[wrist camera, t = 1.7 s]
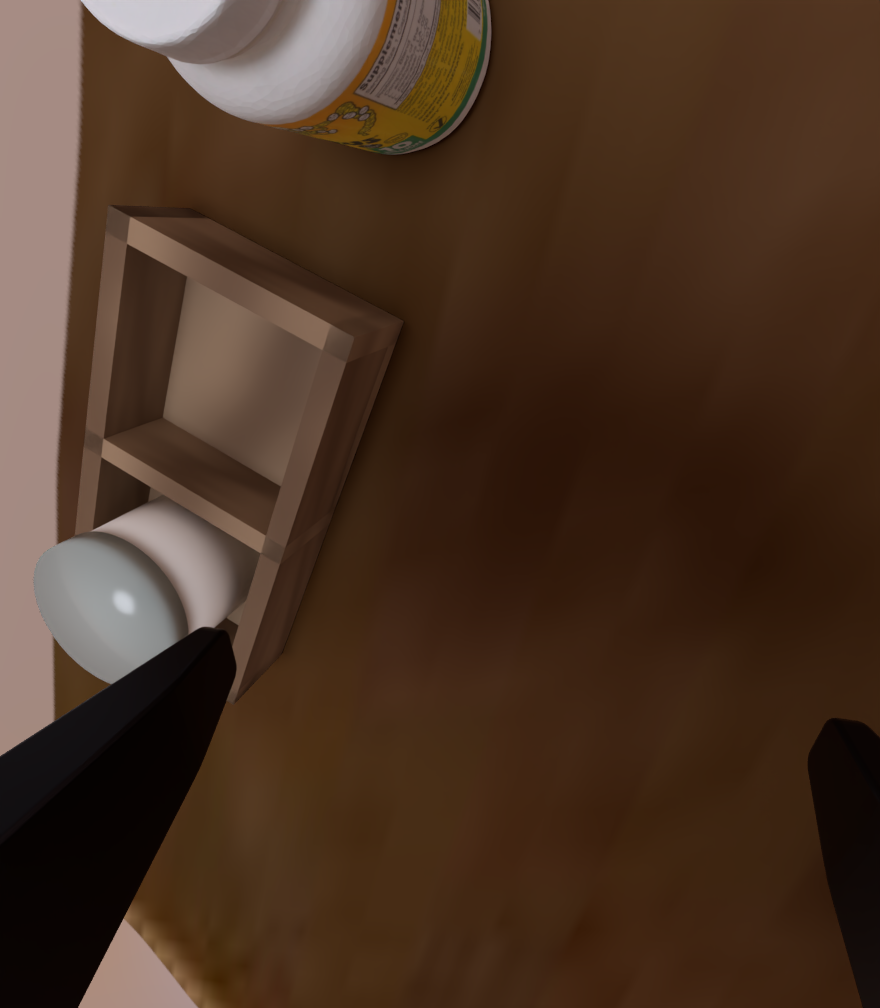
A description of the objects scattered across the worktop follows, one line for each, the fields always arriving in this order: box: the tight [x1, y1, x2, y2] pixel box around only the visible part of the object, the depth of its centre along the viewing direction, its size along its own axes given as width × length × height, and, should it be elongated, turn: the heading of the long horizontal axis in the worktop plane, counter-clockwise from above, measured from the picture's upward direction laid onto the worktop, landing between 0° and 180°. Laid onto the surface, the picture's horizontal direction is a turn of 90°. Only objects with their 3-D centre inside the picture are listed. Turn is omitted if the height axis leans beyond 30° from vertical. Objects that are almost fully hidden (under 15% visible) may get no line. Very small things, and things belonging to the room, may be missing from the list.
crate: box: [75, 205, 404, 705], centre depth 23 cm, size 9×16×4 cm, turn 157°
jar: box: [34, 495, 261, 684], centre depth 24 cm, size 6×6×6 cm
